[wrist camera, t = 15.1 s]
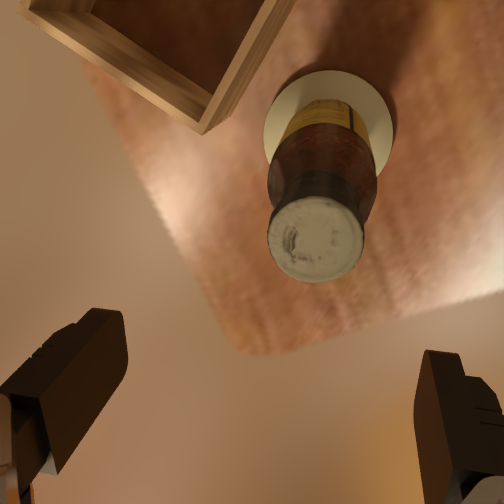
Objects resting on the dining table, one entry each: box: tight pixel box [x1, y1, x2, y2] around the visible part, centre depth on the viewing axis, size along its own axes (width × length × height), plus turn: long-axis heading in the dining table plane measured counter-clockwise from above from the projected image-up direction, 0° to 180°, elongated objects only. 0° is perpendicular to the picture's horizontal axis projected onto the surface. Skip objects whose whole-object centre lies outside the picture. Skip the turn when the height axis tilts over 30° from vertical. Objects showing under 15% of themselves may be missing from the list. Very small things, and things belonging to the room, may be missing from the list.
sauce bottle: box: [267, 99, 377, 283], centre depth 28 cm, size 7×6×20 cm
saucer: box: [263, 70, 393, 176], centre depth 37 cm, size 10×10×1 cm
